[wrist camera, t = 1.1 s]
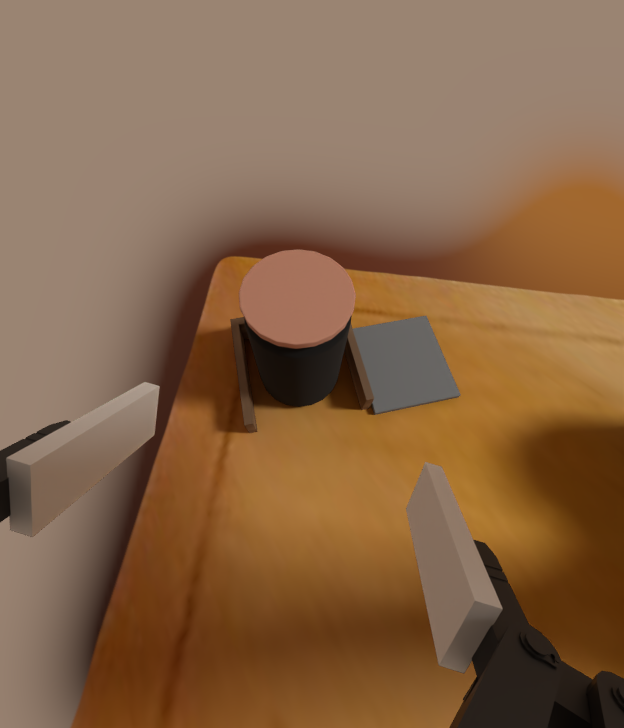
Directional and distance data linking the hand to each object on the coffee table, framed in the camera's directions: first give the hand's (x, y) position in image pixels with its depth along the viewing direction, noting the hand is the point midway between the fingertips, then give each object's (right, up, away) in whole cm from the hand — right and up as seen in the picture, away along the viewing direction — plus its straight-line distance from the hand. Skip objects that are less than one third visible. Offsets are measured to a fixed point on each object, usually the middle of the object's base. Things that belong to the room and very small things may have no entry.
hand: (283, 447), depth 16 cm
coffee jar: (0, +3, +31) cm, 31 cm away
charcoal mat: (+14, +4, +31) cm, 35 cm away
